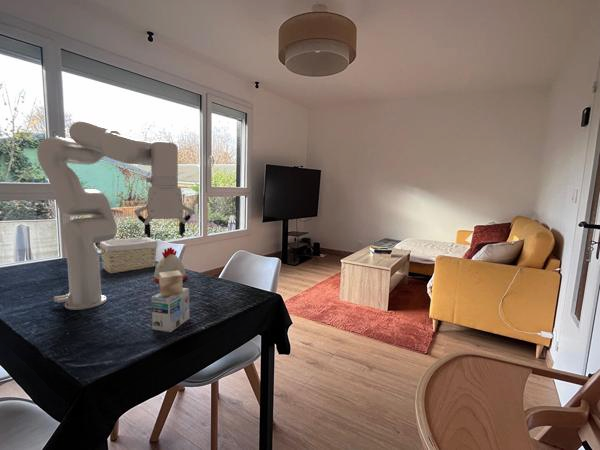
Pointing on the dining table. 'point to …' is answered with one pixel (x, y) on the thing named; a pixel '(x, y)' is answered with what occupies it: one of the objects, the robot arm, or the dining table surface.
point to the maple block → (170, 283)
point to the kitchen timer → (169, 264)
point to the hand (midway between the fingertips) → (165, 236)
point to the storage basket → (128, 254)
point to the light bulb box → (170, 310)
